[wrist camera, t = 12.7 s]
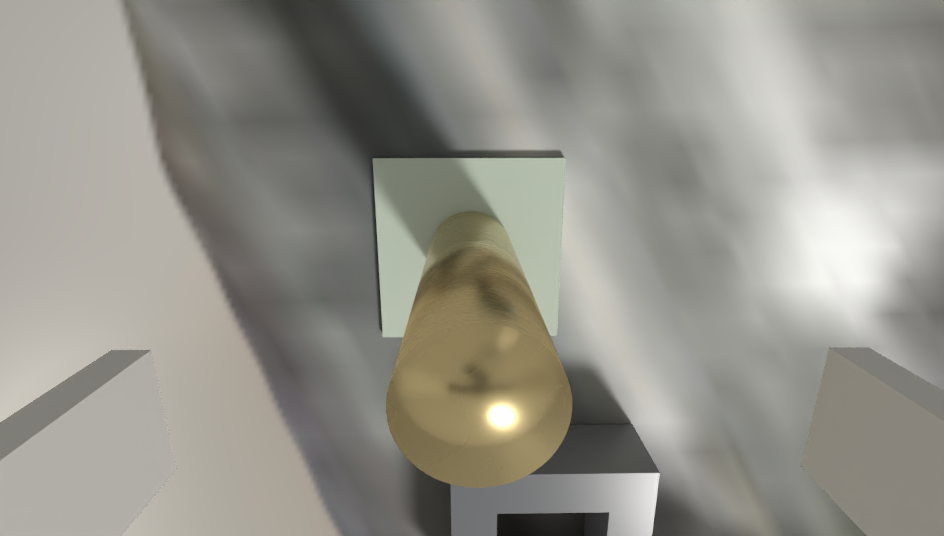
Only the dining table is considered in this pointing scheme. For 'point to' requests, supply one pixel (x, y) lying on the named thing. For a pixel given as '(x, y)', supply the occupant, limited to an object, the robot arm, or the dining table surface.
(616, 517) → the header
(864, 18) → the dining table surface
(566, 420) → the plug
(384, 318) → the mat
